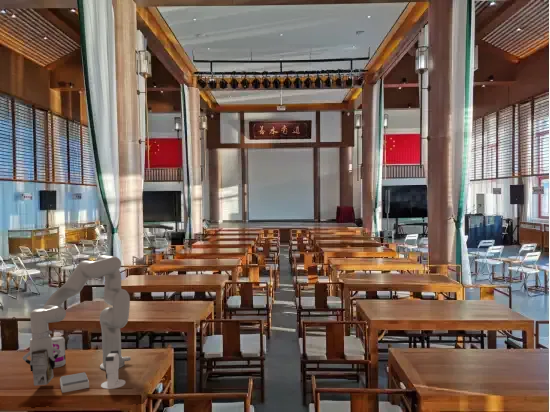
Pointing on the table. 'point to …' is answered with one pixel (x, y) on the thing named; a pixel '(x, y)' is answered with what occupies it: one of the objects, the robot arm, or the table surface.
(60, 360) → the supplement can
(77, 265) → the robot arm
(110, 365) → the white upright piece
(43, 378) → the coffee box
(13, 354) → the table surface
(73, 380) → the pedestal
